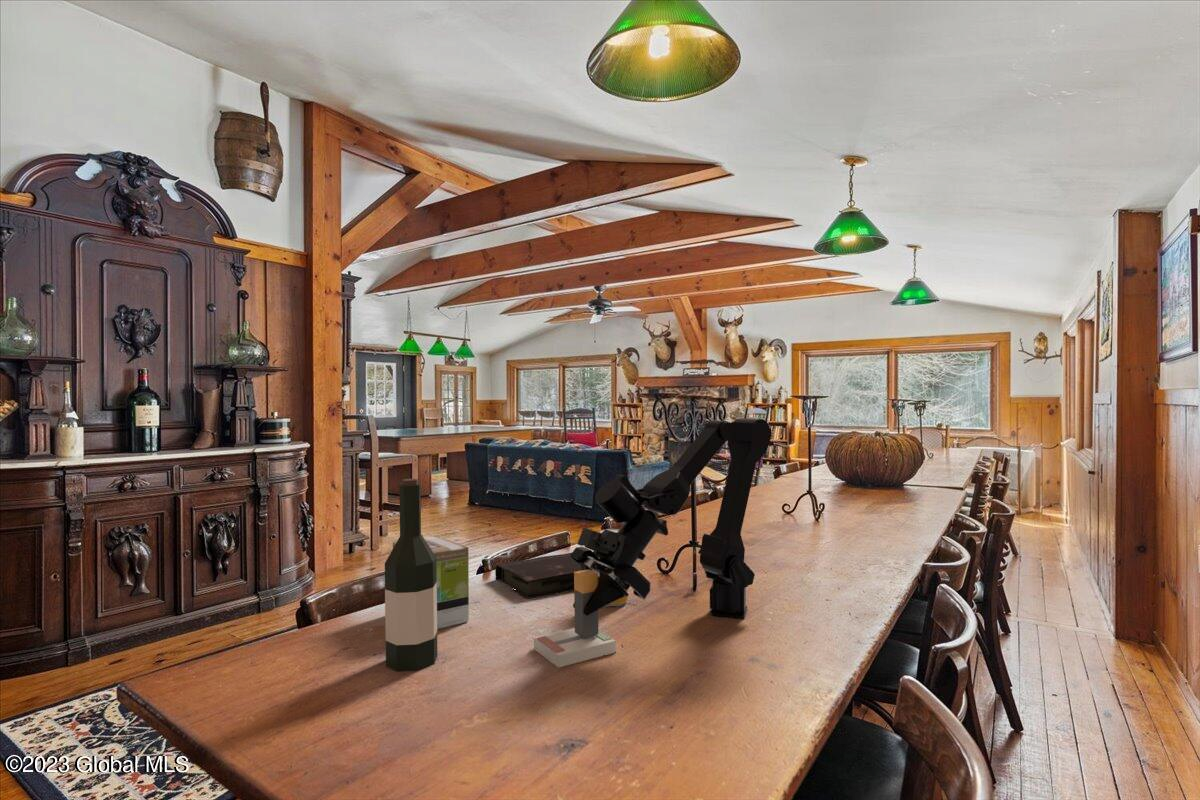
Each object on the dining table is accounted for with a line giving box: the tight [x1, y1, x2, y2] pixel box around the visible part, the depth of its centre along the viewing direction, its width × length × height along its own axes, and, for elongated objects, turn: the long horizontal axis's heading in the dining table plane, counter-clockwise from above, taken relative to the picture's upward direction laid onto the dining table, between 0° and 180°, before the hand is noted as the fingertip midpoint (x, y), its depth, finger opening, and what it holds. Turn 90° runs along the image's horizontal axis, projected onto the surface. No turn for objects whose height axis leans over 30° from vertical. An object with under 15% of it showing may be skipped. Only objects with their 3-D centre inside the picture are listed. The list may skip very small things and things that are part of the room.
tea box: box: [392, 535, 470, 630], centre depth 127 cm, size 15×10×15 cm, turn 39°
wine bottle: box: [384, 478, 438, 672], centre depth 106 cm, size 8×8×30 cm
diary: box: [494, 552, 598, 599], centre depth 151 cm, size 19×25×5 cm
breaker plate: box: [533, 627, 617, 668], centre depth 109 cm, size 11×9×2 cm
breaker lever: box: [573, 569, 599, 638], centre depth 111 cm, size 3×3×10 cm
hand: (579, 611), depth 110 cm, fingers closed on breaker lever, 3 cm apart
